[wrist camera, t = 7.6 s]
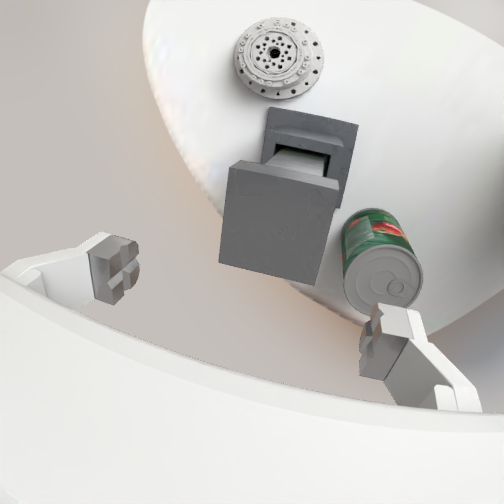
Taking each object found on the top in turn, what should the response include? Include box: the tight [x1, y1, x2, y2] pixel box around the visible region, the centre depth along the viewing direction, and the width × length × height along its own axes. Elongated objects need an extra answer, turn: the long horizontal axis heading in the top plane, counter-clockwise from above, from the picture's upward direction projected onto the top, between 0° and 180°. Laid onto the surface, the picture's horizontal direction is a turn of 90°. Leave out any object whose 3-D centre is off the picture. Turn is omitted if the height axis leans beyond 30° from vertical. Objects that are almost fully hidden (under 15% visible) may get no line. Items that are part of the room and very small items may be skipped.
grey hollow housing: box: [261, 107, 359, 208], centre depth 30 cm, size 10×10×12 cm
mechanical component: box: [234, 18, 324, 99], centre depth 29 cm, size 10×4×10 cm
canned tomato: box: [341, 208, 423, 316], centre depth 33 cm, size 8×8×11 cm
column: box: [219, 145, 339, 286], centre depth 22 cm, size 5×5×17 cm
